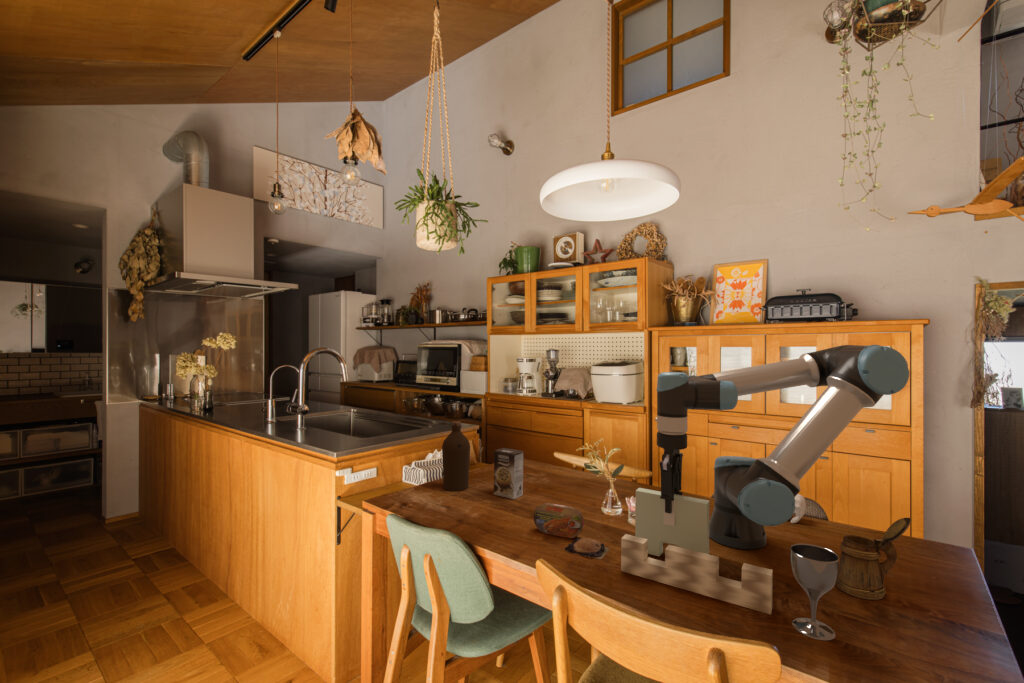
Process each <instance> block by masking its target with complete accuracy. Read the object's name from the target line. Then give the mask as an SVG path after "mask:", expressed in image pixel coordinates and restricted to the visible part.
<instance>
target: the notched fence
mask: <svg viewBox="0 0 1024 683" xmlns="http://www.w3.org/2000/svg"><path fill="white" fill-rule="evenodd" d="M620 543H621V544H620V545H621V546H620V547H621V548H620V549H621V550H620V551H621V552H620V556H621V557H620V560H621V562H620V568H621V569H620V571H621V572H623V573H627V574H630V575H633V576H637V577H641V578H644V579H646V580H647V579H648V580H651V581H655V582H658V583H661V584H665V585H668V586H671V587H675V588H679V589H682V590H685V591H689V592H692V593H696V594H697V595H698V594H699V595H702V596H706V597H709V598H713V599H715V600H719V601H723V602H726V603H729V604H733V605H737V606H740V607H744V608H747V609H751V610H754V611H757V612H760V613H764V614H767V615H772V613H773V612H772V610H773V585H774V584H773V579H774V578H773V576H774V575H773V573H774V572H773V569H769V568H766V567H762V566H757V565H754V564H750V563H746V562H743V564H742V566H741V581H740V580H739V581H738V580H735V579H731V578H727V577H724V576H720V575H719V574H720V573H719V572H720V571H719V570H720V557H719V556H718V555H715V554H714V555H713V554H710V553H709V554H706V553H701V552H697V551H693V550H689V549H685V548H681V547H680V546H677V545H673V544H668V545H666V547H665V549H664V557H665V558H664V560H661V559H657V558H656V559H655V558H652V557H650V556H648V555H649V554H648V539H644V538H640V537H636V536H635V535H632V534H628V533H625V534H624V535H623V536H622V537H621V542H620Z"/></svg>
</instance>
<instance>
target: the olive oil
mask: <svg viewBox="0 0 1024 683" xmlns="http://www.w3.org/2000/svg"><path fill="white" fill-rule="evenodd" d="M461 422H462V421H461V420H453V421H451V432H449V434H448V436H447V435H446V436H447V437H445V439H444V440H443V442H442V446H441V450H442V451H441V455H442V457H441V458H442V478H443V479H442V480H443V481H442V482H443V489H444V490H446V491H448V492H460V491H464V490H467V489H468V488H469V481H470V480H469V479H470V478H469V477H470V475H469V474H470V458H471V457H470V456H471V444H470V441H469V439H468V438H467V436H466V435H465V434H464V433H463V432H462V429H461V428H462V424H461Z"/></svg>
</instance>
